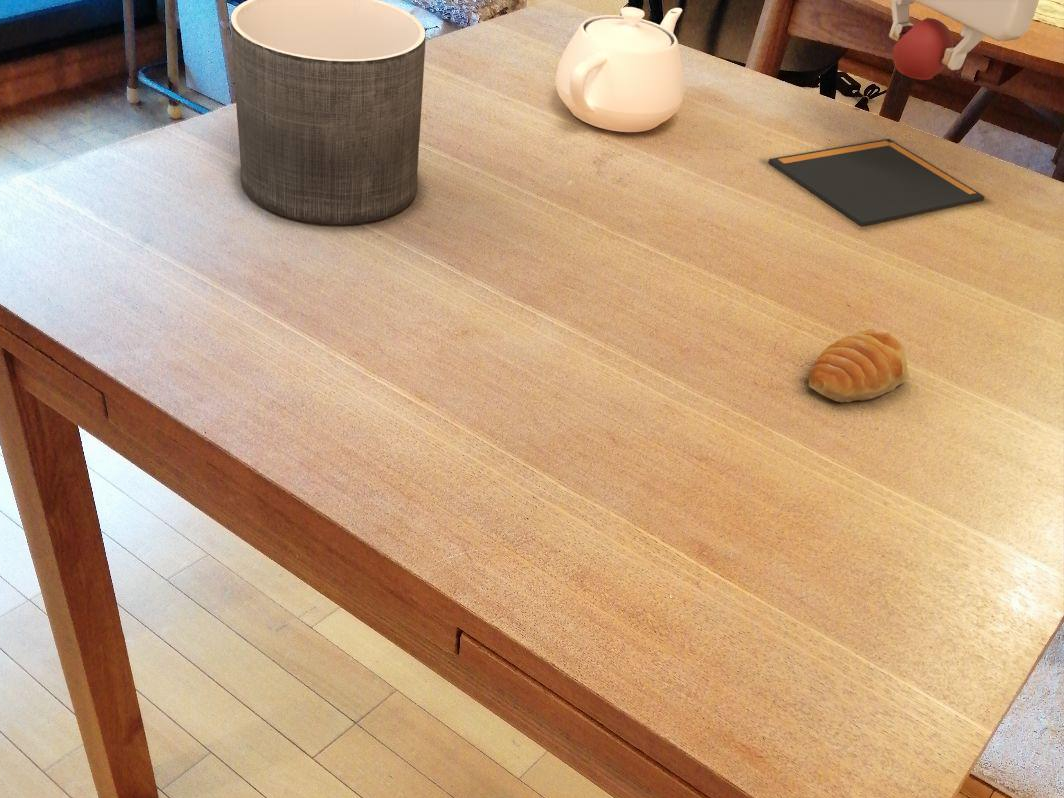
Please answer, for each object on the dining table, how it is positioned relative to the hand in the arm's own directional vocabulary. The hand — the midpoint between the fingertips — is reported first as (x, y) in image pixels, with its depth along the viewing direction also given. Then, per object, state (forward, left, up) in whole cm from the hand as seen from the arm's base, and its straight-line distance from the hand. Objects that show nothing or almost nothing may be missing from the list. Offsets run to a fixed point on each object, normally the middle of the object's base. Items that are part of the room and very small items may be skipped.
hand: (923, 53), depth 117 cm
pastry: (+32, +29, -15) cm, 46 cm away
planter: (+61, -19, -15) cm, 65 cm away
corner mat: (0, -1, -15) cm, 15 cm away
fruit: (0, +1, -2) cm, 3 cm away
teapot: (+20, -26, -15) cm, 36 cm away
